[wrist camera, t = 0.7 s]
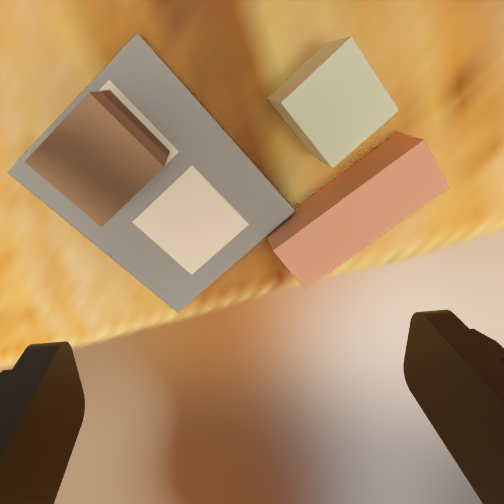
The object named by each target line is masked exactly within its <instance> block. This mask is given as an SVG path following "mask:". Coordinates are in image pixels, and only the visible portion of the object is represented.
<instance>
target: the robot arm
mask: <svg viewBox="0 0 504 504" xmlns="http://www.w3.org/2000/svg"><path fill="white" fill-rule="evenodd" d="M404 375H405V379H406V383H407V385H408V387H409V389H410V391H411V393H412V394H413V396H414V397H415V399H416V400H417V402H418V404H419V405H420V407H421V408H422V410H423V411H424V413H425V414H426V416H427V418H428V419H429V421H430V422H431V424H432V425H433V427H434V428H435V430H436V432H437V433H438V435H439V436H440V438H441V439H442V441H443V442H444V444H445V445H446V447H447V449H448V450H449V452H450V453H451V455H452V456H453V458H454V459H455V461H456V462H457V464H458V466H459V467H460V469H461V470H462V472H463V473H464V475H465V477H466V478H467V480H468V481H469V482H470V484H471V486H472V487H473V489H474V491H475V492H476V494H477V495H478V497H479V498H480V500H481V501H482V503H483V504H504V348H503V347H502V346H501V345H500V344H499V343H497V342H496V341H495V340H493V339H491V338H489V337H487V336H486V335H484V334H482V333H480V332H478V331H476V330H475V329H469V328H468V327H467V326H466V325H465V324H464V323H463V322H462V321H461V320H460V319H459V318H457V316H456V315H455V314H453V313H452V312H451V311H449V310H438V311H426V312H416V313H415V314H414V315H413V316H412V318H411V322H410V328H409V334H408V340H407V346H406V353H405V359H404ZM84 410H85V398H84V393H83V389H82V385H81V381H80V377H79V374H78V370H77V366H76V363H75V359H74V355H73V351H72V348H71V346H70V344H69V343H68V342H54V343H43V344H31V345H29V346H28V347H27V348H26V349H25V351H24V352H23V354H22V355H21V357H20V359H19V360H18V362H17V363H16V365H15V366H14V368H13V369H12V370H3V371H2V372H1V373H0V504H54V501H55V499H56V496H57V493H58V490H59V487H60V484H61V482H62V479H63V476H64V473H65V470H66V467H67V465H68V462H69V459H70V456H71V453H72V450H73V447H74V445H75V442H76V439H77V436H78V433H79V430H80V427H81V425H82V422H83V417H84Z"/></svg>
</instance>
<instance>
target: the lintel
mask: <svg viewBox="0 0 504 504" xmlns="http://www.w3.org/2000/svg"><path fill="white" fill-rule="evenodd" d="M448 188H449V186H448V184H447V182H446V181H445V179H444V177H443V175H442V173H441V171H440V169H439V167H438V165H437V163H436V161H435V160H434V158H433V156H432V154H431V152H430V150H429V148H428V146H427V144H426V142H425V140H424V139H420V138H416V137H413V136H409V135H405V134H401V133H398V132H397V133H396V134H394V135H393V136H392V137H390V138H389V139H388V140H386V141H385V142H384V143H382V144H381V145H380V146H378V147H377V148H376V149H374V150H373V151H372V152H370V153H369V154H368V155H366V156H365V157H364V158H362V159H361V160H359V161H358V162H357V163H355V164H354V165H353V166H351V167H350V168H349V169H347V170H346V171H345V172H343V173H342V174H341V175H339V176H338V177H337V178H335V179H334V180H333V181H331V182H330V183H329V184H327V185H326V186H325V187H323V188H322V189H321V190H319V191H318V192H317V193H315V194H314V195H313V196H311V197H310V198H309V199H307V200H306V201H305V202H303V203H302V204H301V205H299V206H298V207H297V208H295V209H294V210H295V212H294V213H292V214H291V215H290V216H289V217H288V218H287V219H286V220H284V221H283V222H282V223H281V224H280V225H279V226H277V227H276V228H275V229H274V230H273V231H272V232H271V233H269V234H268V235H267V238H268V240H269V243H270V245H271V247H272V250H273V251H274V253H275V254H276V255H277V256H278V257H279V259H280V260H281V261H282V262H283V264H284V265H285V266H286V267H287V268H288V270H289V271H290V272H291V273H292V275H293V276H294V277H295V278H296V280H297V281H298V282H299V283H300V284H301V286H302V287H303V288H304V289H306V288H308V287H309V286H310V285H312V284H313V283H315V282H316V281H318V280H319V279H321V278H322V277H323V276H325V275H326V274H328V273H329V272H331V271H332V270H333V269H335V268H336V267H338V266H339V265H340V264H342V263H343V262H345V261H346V260H348V259H349V258H350V257H352V256H353V255H355V254H356V253H357V252H359V251H360V250H362V249H363V248H365V247H366V246H367V245H369V244H370V243H372V242H373V241H374V240H376V239H377V238H379V237H380V236H382V235H383V234H384V233H386V232H387V231H389V230H390V229H391V228H393V227H394V226H396V225H397V224H399V223H400V222H401V221H403V220H404V219H406V218H407V217H408V216H410V215H411V214H413V213H414V212H416V211H417V210H418V209H420V208H421V207H423V206H424V205H426V204H427V203H428V202H430V201H431V200H433V199H434V198H435V197H437V196H438V195H440V194H441V193H443V192H444V191H445V190H447V189H448Z"/></svg>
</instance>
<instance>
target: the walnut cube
mask: <svg viewBox="0 0 504 504" xmlns="http://www.w3.org/2000/svg"><path fill="white" fill-rule="evenodd" d="M169 153H170V151H169V150H168V149H167V148H166V147H165V146H164V145H163V144H162V143H161V142H160V141H159V140H158V138H157V137H156V136H155V135H154V134H153V133H152V132H151V131H150V130H149V129H148V128H147V127H146V126H145V125H144V124H143V123H142V122H141V121H140V120H139V119H138V118H137V117H136V116H135V115H134V114H133V113H132V112H131V111H130V110H129V109H128V108H127V107H126V106H125V105H124V104H123V103H122V102H121V101H120V100H119V99H118V98H117V97H116V96H115V95H114V94H113V93H112V91H111V90H104V91H96V92H89V93H88V94H87V95H86V96H85V97H84V98H83V100H82V101H81V102H80V103H79V104H78V105H77V106H76V107H75V108H74V109H73V110H72V111H71V112H70V113H69V114H68V116H67V117H66V118H65V119H64V120H63V121H62V122H61V123H60V124H59V125H58V126H57V127H56V128H55V129H54V130H53V132H52V133H51V134H50V135H49V136H48V137H47V138H46V139H45V140H44V141H43V142H42V143H41V144H40V145H39V147H38V148H37V149H36V150H35V151H34V152H33V153H32V154H31V155H30V156H29V157H28V158H27V159H26V160H25V161H24V162H25V163H26V164H28V165H29V166H30V167H31V168H32V169H33V170H35V171H36V172H37V173H38V174H39V175H41V176H42V177H43V178H44V179H45V180H46V181H48V182H49V183H50V184H51V185H52V186H53V187H55V188H56V189H57V190H58V191H59V192H61V193H62V194H63V195H64V196H65V197H66V198H68V199H69V200H70V201H71V202H72V203H74V204H75V205H76V206H77V207H78V208H79V209H81V210H82V211H83V212H84V213H85V214H86V215H88V216H89V217H90V218H91V219H92V220H94V221H95V222H96V223H97V224H98V225H99V226H101V227H103V226H104V225H105V224H106V223H107V222H108V221H109V220H110V219H111V218H112V217H113V216H114V215H115V214H116V213H117V212H118V211H119V210H120V209H121V208H122V207H123V206H124V205H125V204H126V203H127V202H128V201H129V200H131V199H132V198H133V197H134V196H135V195H136V194H137V193H138V192H139V191H140V190H141V189H142V188H143V187H144V186H145V185H146V184H147V183H148V182H149V181H150V180H151V179H152V178H153V177H154V176H155V175H156V174H157V173H158V172H159V171H160V170H162V169H163V168H164V166H165V164H166V161H167V158H168V156H169Z"/></svg>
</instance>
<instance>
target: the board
mask: <svg viewBox="0 0 504 504" xmlns="http://www.w3.org/2000/svg"><path fill="white" fill-rule="evenodd" d="M104 90H111V91H112V93H113V94H114V95H115V96H116V97H117V98H118V99H119V100H120V101H121V102H122V103H123V104H124V105H125V106H126V107H127V108H128V109H129V110H130V111H131V112H132V113H133V114H134V115H135V116H136V117H137V118H138V119H139V120H140V121H141V122H142V123H143V124H144V125H145V126H146V127H147V128H148V129H149V130H150V131H151V132H152V133H153V134H154V135H155V136H156V137H157V138H158V140H159V141H160V142H161V143H162V144H163V145H164V146H165V147H166V148H167V149H168V150H169V151H170V153H169V156H168V158H167V161H166V164H165V166H164V168H163V169H162V170H160V171H159V172H158V173H157V174H156V175H155V176H154V177H153V178H152V179H151V180H150V181H149V182H148V183H147V184H146V185H145V186H144V187H143V188H142V189H141V190H140V191H139V192H138V193H137V194H136V195H135V196H134V197H133V198H132V199H131V200H129V201H128V202H127V203H126V204H125V205H124V206H123V207H122V208H121V209H120V210H119V211H118V212H117V213H116V214H115V215H114V216H113V217H112V218H111V219H110V220H109V221H108V222H107V223H106V224H105V225H104V226H103V227H101V226H99V225H98V224H97V223H96V222H95V221H94V220H92V219H91V218H90V217H89V216H88V215H86V214H85V213H84V212H83V211H82V210H81V209H79V208H78V207H77V206H76V205H75V204H74V203H72V202H71V201H70V200H69V199H68V198H66V197H65V196H64V195H63V194H62V193H61V192H59V191H58V190H57V189H56V188H55V187H53V186H52V185H51V184H50V183H49V182H48V181H46V180H45V179H44V178H43V177H42V176H41V175H39V174H38V173H37V172H36V171H35V170H33V169H32V168H31V167H30V166H29V165H28V164H26V163H25V162H24V161H25V160H26V159H27V158H28V157H29V156H30V155H31V154H32V153H33V152H34V151H35V150H36V149H37V148H38V147H39V145H40V144H41V143H42V142H43V141H44V140H45V139H46V138H47V137H48V136H49V135H50V134H51V133H52V132H53V130H54V129H55V128H56V127H57V126H58V125H59V124H60V123H61V122H62V121H63V120H64V119H65V118H66V117H67V116H68V114H69V113H70V112H71V111H72V110H73V109H74V108H75V107H76V106H77V105H78V104H79V103H80V102H81V101H82V100H83V98H84V97H85V96H86V95H87V94H88V93H89V92H96V91H104ZM7 173H8V174H10V175H11V176H12V177H13V178H14V179H16V180H17V181H18V182H19V183H20V184H22V185H23V186H24V187H25V188H27V189H28V190H29V191H30V192H31V193H33V194H34V195H35V196H36V197H38V198H39V199H40V200H41V201H42V202H44V203H45V204H46V205H47V206H48V207H50V208H51V209H52V210H53V211H55V212H56V213H57V214H58V215H59V216H61V217H62V218H63V219H64V220H66V221H67V222H68V223H69V224H70V225H72V226H73V227H74V228H75V229H76V230H78V231H79V232H80V233H81V234H83V235H84V236H85V237H86V238H87V239H89V240H90V241H91V242H92V243H94V244H95V245H96V246H97V247H98V248H100V249H101V250H102V251H103V252H104V253H106V254H107V255H108V256H109V257H111V258H112V259H113V260H114V261H115V262H117V263H118V264H119V265H120V266H122V267H123V268H124V269H125V270H126V271H128V272H129V273H130V274H131V275H132V276H134V277H135V278H136V279H137V280H139V281H140V282H141V283H142V284H143V285H145V286H146V287H147V288H148V289H150V290H151V291H152V292H153V293H154V294H156V295H157V296H158V297H159V298H160V299H162V300H163V301H164V302H165V303H167V304H168V305H169V306H170V307H171V308H173V309H174V310H175V311H176V312H179V311H180V310H182V309H183V308H184V307H185V306H186V305H187V304H189V303H190V302H191V301H192V300H193V299H194V298H195V297H197V296H198V295H199V294H200V293H201V292H202V291H204V290H205V289H206V288H207V287H208V286H209V285H210V284H212V283H213V282H214V281H215V280H216V279H217V278H219V277H220V276H221V275H222V274H223V273H224V272H225V271H227V270H228V269H229V268H230V267H231V266H232V265H234V264H235V263H236V262H237V261H238V260H239V259H240V258H242V257H243V256H244V255H245V254H246V253H247V252H249V251H250V250H251V249H252V248H253V247H254V246H256V245H257V244H258V243H259V242H260V241H261V240H262V239H264V238H265V237H266V236H267V235H268V234H269V233H271V232H272V231H273V230H274V229H275V228H276V227H277V226H279V225H280V224H281V223H282V222H283V221H284V220H286V219H287V218H288V217H289V216H290V215H291V214H292V213H294V212H295V210H294V209H293V207H292V206H291V205H290V204H289V203H288V201H287V200H286V199H285V198H284V197H283V196H282V195H281V194H280V192H279V191H278V190H277V189H276V188H275V187H274V186H273V185H272V183H271V182H270V181H269V180H268V179H267V178H266V177H265V176H264V174H263V173H262V172H261V171H260V170H259V169H258V168H257V167H256V165H255V164H254V163H253V162H252V161H251V160H250V159H249V157H248V156H247V155H246V154H245V153H244V152H243V151H242V150H241V148H240V147H239V146H238V145H237V144H236V143H235V142H234V141H233V139H232V138H231V137H230V136H229V135H228V134H227V133H226V132H225V130H224V129H223V128H222V127H221V126H220V125H219V124H218V122H217V121H216V120H215V119H214V118H213V117H212V116H211V115H210V113H209V112H208V111H207V110H206V109H205V108H204V107H203V106H202V104H201V103H200V102H199V101H198V100H197V99H196V98H195V97H194V95H193V94H192V93H191V92H190V91H189V90H188V89H187V88H186V86H185V85H184V84H183V83H182V82H181V81H180V80H179V78H178V77H177V76H176V75H175V74H174V73H173V72H172V71H171V69H170V68H169V67H168V66H167V65H166V64H165V63H164V62H163V60H162V59H161V58H160V57H159V56H158V55H157V54H156V53H155V51H154V50H153V49H152V48H151V47H150V46H149V45H148V44H147V42H146V41H145V40H144V39H143V38H142V37H141V36H140V35H139V34H138V33H137V34H136V35H135V36H134V37H133V38H132V39H131V40H130V41H129V42H128V43H127V44H126V45H125V47H124V48H123V49H122V50H121V51H120V52H119V53H118V54H117V55H116V56H115V57H114V58H113V59H112V61H111V62H110V63H109V64H108V65H107V66H106V67H105V68H104V69H103V70H102V71H101V72H100V73H99V74H98V76H97V77H96V78H95V79H94V80H93V81H92V82H91V83H90V84H89V85H88V86H87V87H86V88H85V89H84V91H83V92H82V93H81V94H80V95H79V96H78V97H77V98H76V99H75V100H74V101H73V102H72V103H71V105H70V106H69V107H68V108H67V109H66V110H65V111H64V112H63V113H62V114H61V115H60V116H59V117H58V118H57V120H56V121H55V122H54V123H53V124H52V125H51V126H50V127H49V128H48V129H47V130H46V131H45V132H44V133H43V135H42V136H41V137H40V138H39V139H38V140H37V141H36V142H35V143H34V144H33V145H32V146H31V147H30V149H29V150H28V151H27V152H26V153H25V154H24V155H23V156H22V157H21V158H20V159H19V160H18V161H17V162H16V164H15V165H14V166H13V167H12V168H11V169H10V170H9V171H8V172H7Z"/></svg>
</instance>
